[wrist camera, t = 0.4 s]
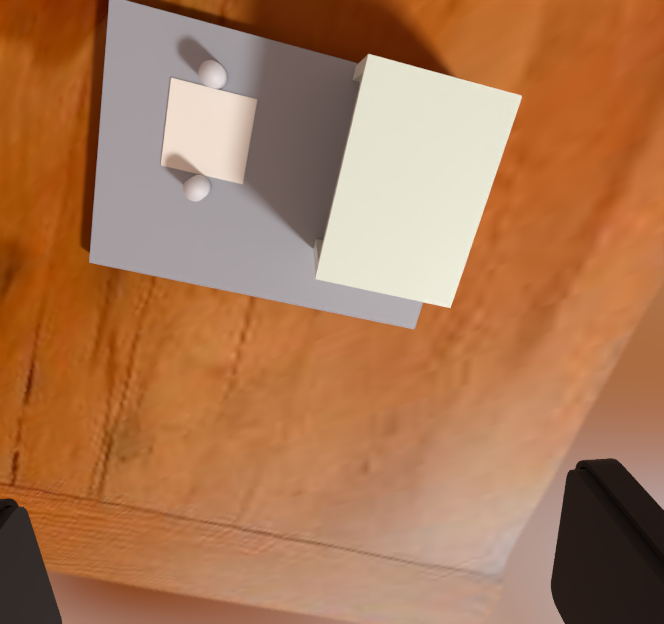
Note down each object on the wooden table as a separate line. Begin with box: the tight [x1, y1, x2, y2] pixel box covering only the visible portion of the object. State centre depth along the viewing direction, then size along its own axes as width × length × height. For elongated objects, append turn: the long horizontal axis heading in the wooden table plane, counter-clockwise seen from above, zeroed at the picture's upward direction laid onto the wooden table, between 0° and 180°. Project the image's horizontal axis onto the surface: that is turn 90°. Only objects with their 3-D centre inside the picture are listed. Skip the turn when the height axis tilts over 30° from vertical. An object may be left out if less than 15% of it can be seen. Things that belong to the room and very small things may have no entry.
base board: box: [89, 0, 423, 329], centre depth 33 cm, size 16×23×3 cm
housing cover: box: [313, 54, 522, 308], centre depth 30 cm, size 12×8×7 cm
